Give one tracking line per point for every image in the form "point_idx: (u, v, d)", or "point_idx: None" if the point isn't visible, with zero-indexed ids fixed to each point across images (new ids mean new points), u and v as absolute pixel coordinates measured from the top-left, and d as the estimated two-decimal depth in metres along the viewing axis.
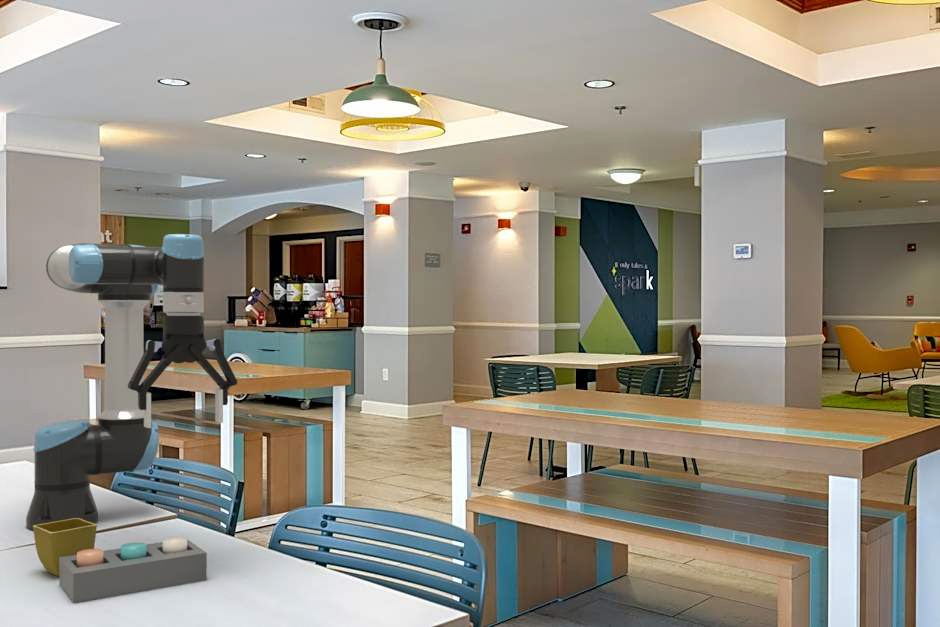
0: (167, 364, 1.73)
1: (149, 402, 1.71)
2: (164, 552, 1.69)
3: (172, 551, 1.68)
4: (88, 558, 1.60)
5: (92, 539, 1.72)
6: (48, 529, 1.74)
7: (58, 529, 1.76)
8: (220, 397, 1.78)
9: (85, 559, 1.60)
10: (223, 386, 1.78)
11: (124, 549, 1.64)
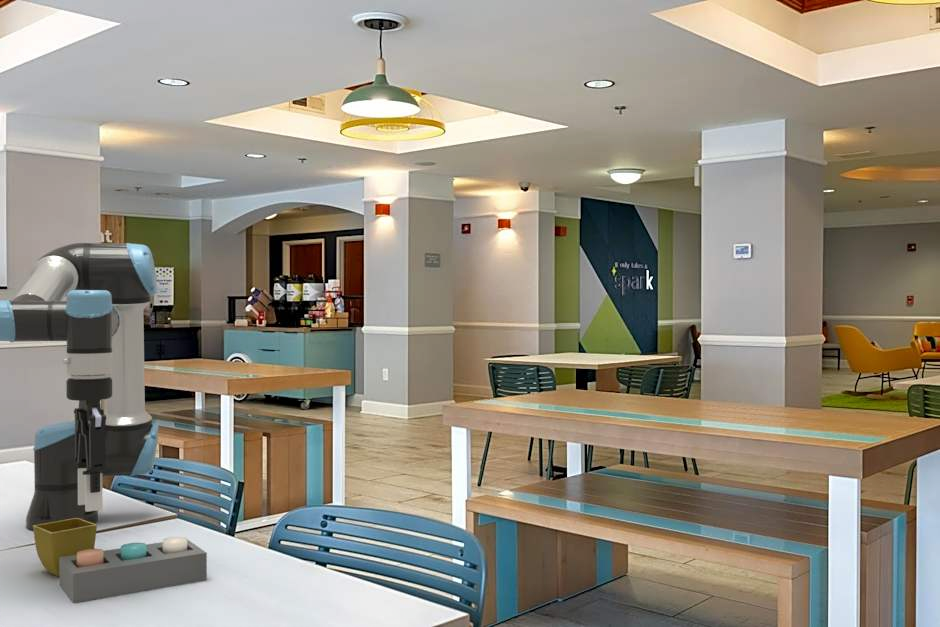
0: None
1: (78, 478, 1.63)
2: (164, 552, 1.69)
3: (172, 551, 1.68)
4: (88, 558, 1.60)
5: (92, 539, 1.72)
6: (48, 529, 1.74)
7: (58, 529, 1.76)
8: (85, 482, 1.59)
9: (85, 559, 1.60)
10: None
11: (124, 549, 1.64)
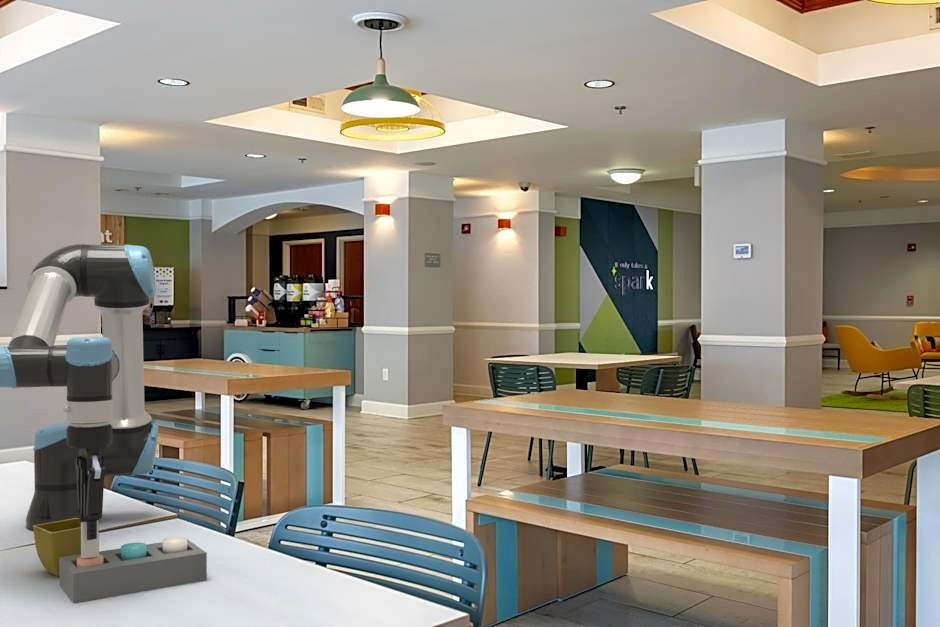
0: (79, 480, 1.62)
1: (81, 530, 1.61)
2: (164, 552, 1.69)
3: (172, 551, 1.68)
4: (88, 563, 1.60)
5: None
6: (48, 529, 1.74)
7: (58, 529, 1.76)
8: (82, 529, 1.61)
9: (85, 565, 1.60)
10: None
11: (124, 549, 1.64)
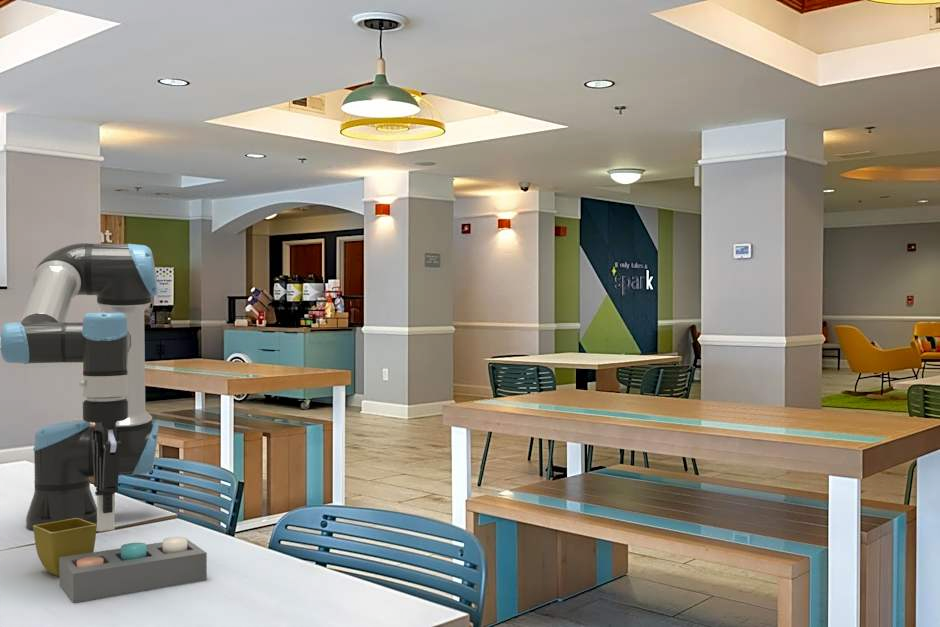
0: (95, 454, 1.63)
1: (97, 503, 1.63)
2: (164, 552, 1.69)
3: (172, 551, 1.68)
4: None
5: (92, 539, 1.72)
6: (48, 529, 1.74)
7: (58, 529, 1.76)
8: (98, 503, 1.62)
9: None
10: None
11: (124, 549, 1.64)
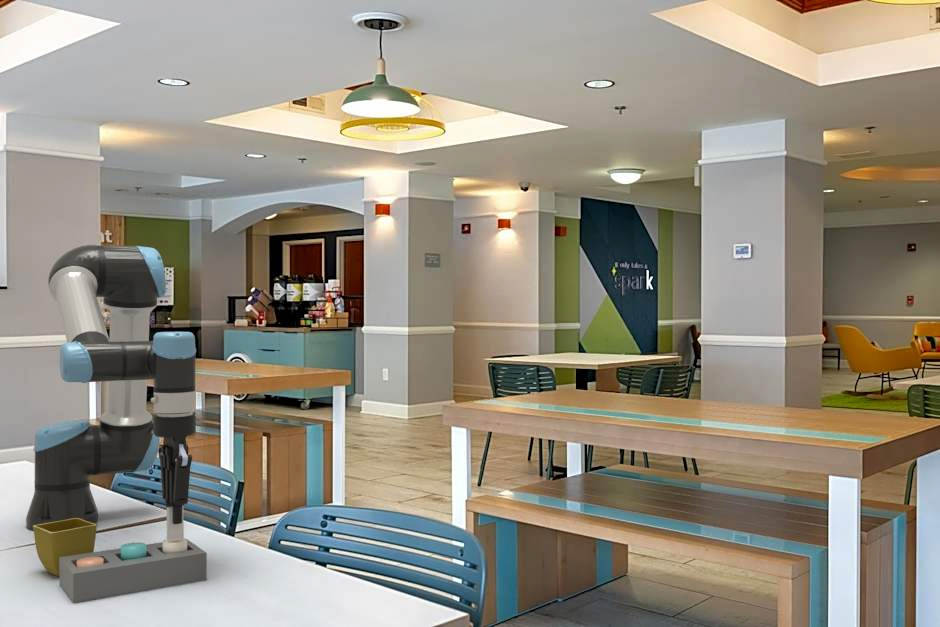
0: (165, 468, 1.70)
1: (167, 514, 1.70)
2: (164, 553, 1.69)
3: (172, 552, 1.68)
4: None
5: (92, 539, 1.72)
6: (48, 529, 1.74)
7: (58, 529, 1.76)
8: (168, 514, 1.69)
9: None
10: (170, 502, 1.69)
11: (124, 549, 1.64)
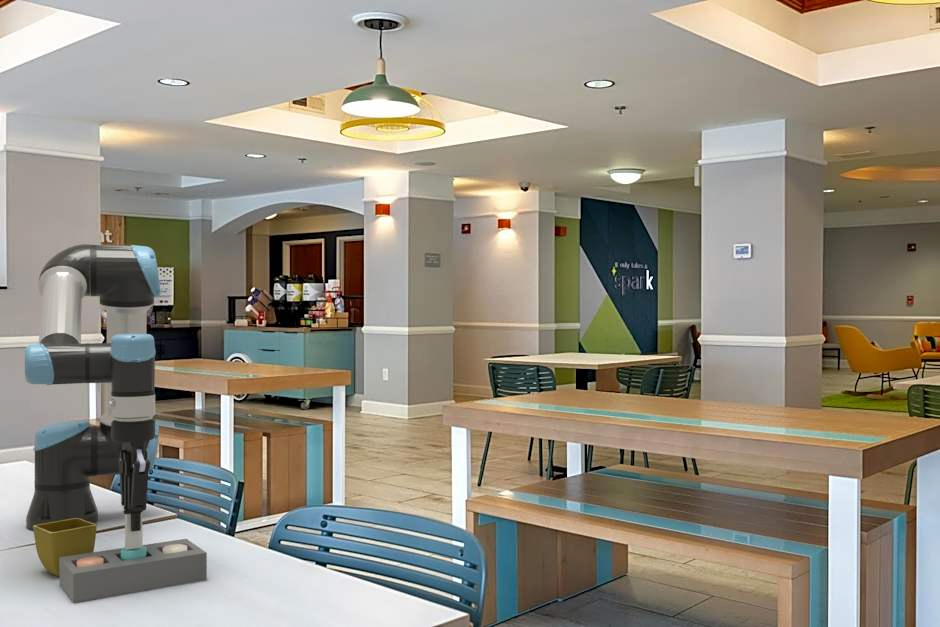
0: (123, 473, 1.66)
1: (125, 521, 1.66)
2: None
3: None
4: None
5: (92, 539, 1.72)
6: (48, 529, 1.74)
7: (58, 529, 1.76)
8: (126, 521, 1.65)
9: None
10: None
11: (124, 552, 1.64)
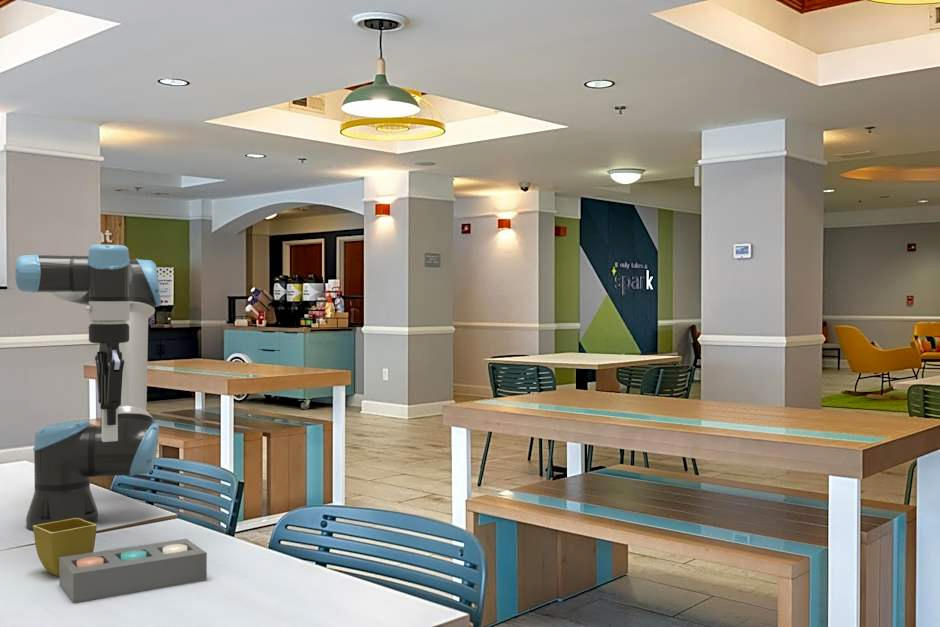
0: (100, 373, 1.81)
1: (102, 417, 1.81)
2: None
3: None
4: None
5: (92, 539, 1.72)
6: (48, 529, 1.74)
7: (58, 529, 1.76)
8: (103, 416, 1.80)
9: None
10: None
11: (124, 557, 1.64)
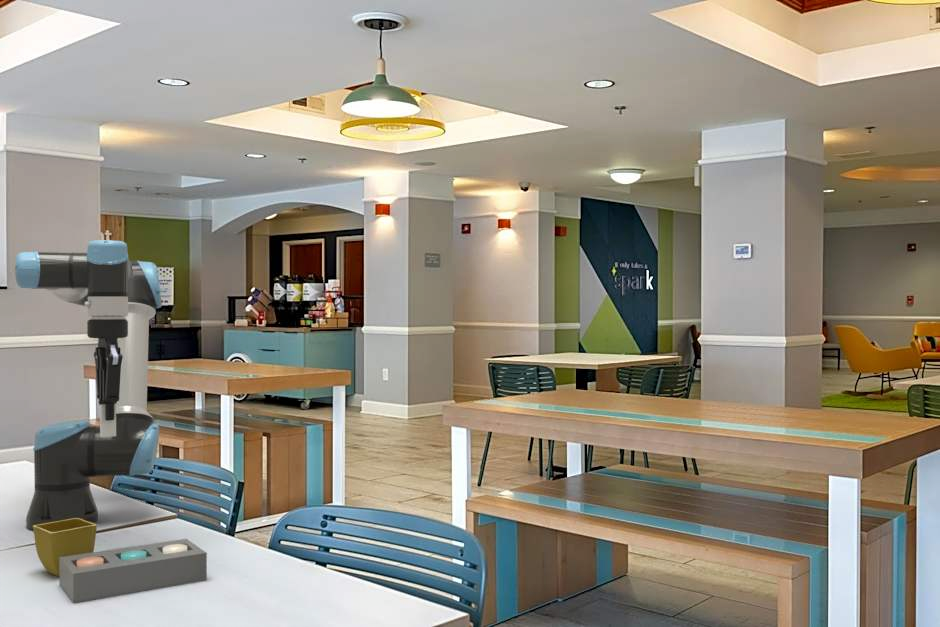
0: (99, 368, 1.81)
1: (100, 412, 1.81)
2: None
3: None
4: None
5: (92, 539, 1.72)
6: (48, 529, 1.74)
7: (58, 529, 1.76)
8: (101, 412, 1.80)
9: None
10: None
11: (124, 557, 1.64)
